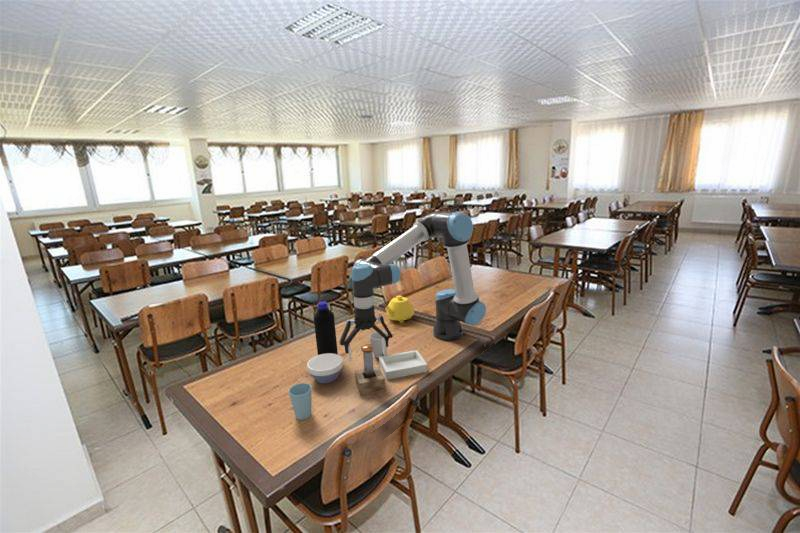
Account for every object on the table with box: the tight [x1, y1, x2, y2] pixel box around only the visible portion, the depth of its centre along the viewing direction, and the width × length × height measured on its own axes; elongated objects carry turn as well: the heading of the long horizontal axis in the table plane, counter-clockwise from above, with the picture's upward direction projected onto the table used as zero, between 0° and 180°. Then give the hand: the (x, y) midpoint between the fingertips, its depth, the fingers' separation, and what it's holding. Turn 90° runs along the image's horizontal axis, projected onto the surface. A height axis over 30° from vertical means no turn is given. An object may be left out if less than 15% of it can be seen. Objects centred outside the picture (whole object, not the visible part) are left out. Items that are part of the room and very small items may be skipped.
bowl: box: [306, 353, 344, 384], centre depth 154 cm, size 14×14×8 cm
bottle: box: [313, 300, 339, 355], centre depth 165 cm, size 9×9×28 cm
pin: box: [360, 343, 375, 379], centre depth 145 cm, size 5×5×17 cm
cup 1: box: [288, 382, 312, 421], centre depth 130 cm, size 8×8×10 cm
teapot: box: [385, 295, 415, 324], centre depth 209 cm, size 20×16×14 cm
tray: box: [378, 349, 428, 380], centre depth 159 cm, size 18×14×3 cm
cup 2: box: [368, 331, 388, 359], centre depth 170 cm, size 8×8×10 cm
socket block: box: [354, 365, 386, 396], centre depth 147 cm, size 10×10×5 cm
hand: (367, 357), depth 144 cm, fingers open, 13 cm apart
